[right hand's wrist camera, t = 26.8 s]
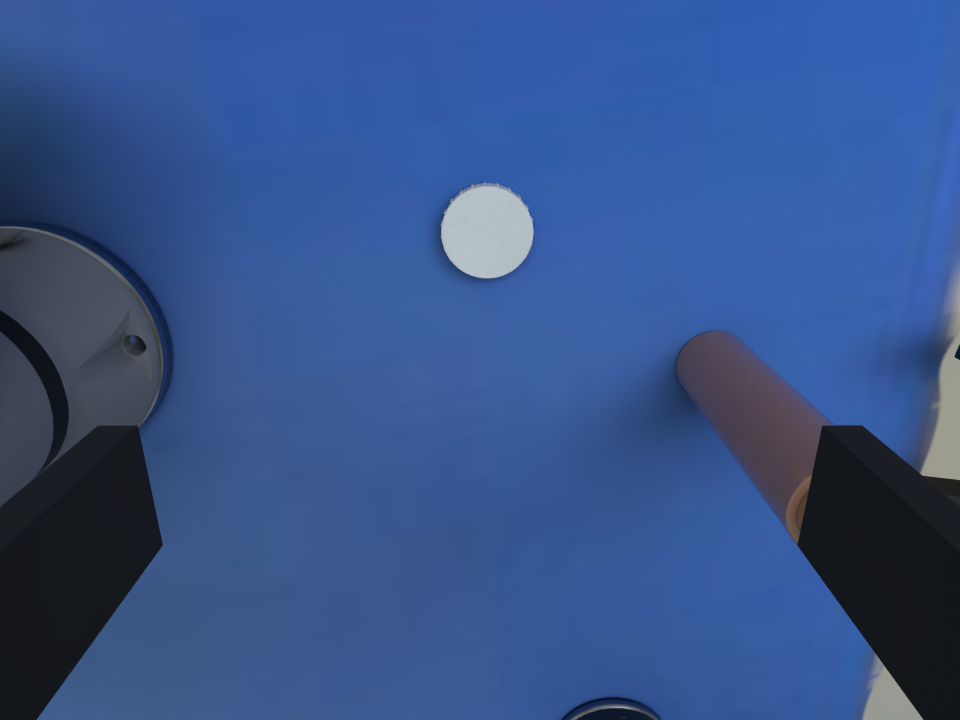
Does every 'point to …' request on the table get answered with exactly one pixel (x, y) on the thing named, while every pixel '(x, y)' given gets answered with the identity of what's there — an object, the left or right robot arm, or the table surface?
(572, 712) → the left robot arm
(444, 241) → the lid
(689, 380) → the jar
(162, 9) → the table surface
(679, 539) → the table surface
